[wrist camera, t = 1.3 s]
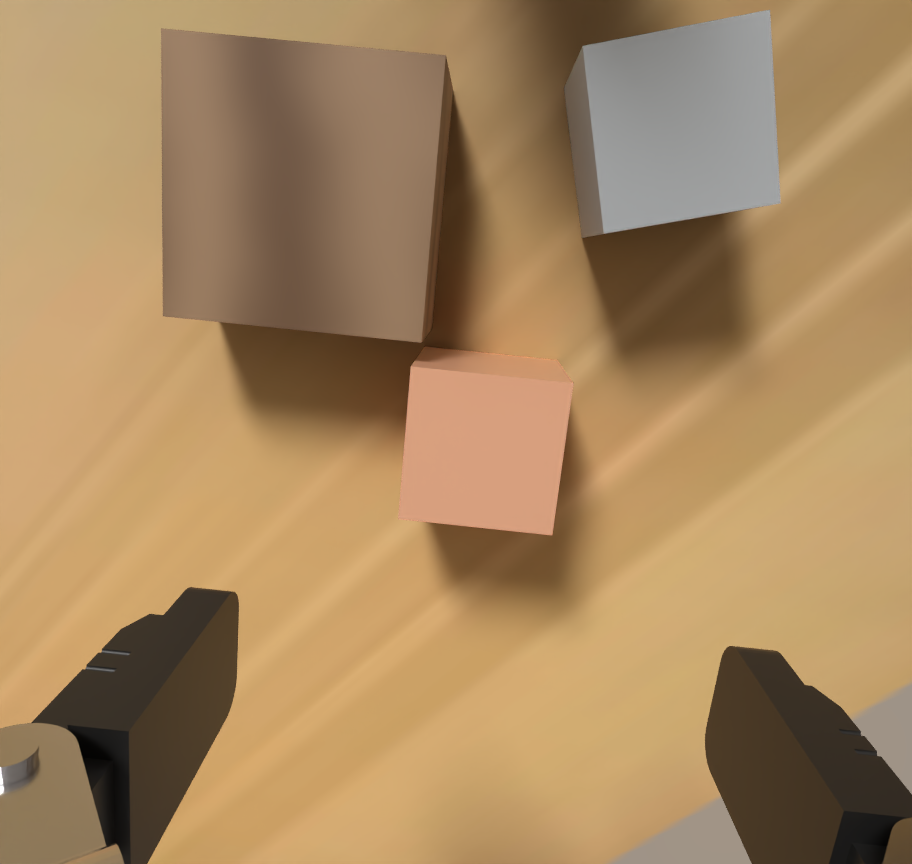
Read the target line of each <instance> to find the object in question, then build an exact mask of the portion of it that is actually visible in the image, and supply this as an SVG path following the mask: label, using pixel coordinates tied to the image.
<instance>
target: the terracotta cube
mask: <svg viewBox="0 0 912 864" xmlns="http://www.w3.org/2000/svg"><path fill="white" fill-rule="evenodd" d="M573 384H574V383H573V382H572V380H571V379H570V377H569V376H568V374H567V373H566V371H565V370H564V369H563V367H562V366H561V364H560V363H559V361H558V360H553V359H543V358H533V357H523V356H514V355H504V354H494V353H484V352H474V351H465V350H455V349H445V348H435V347H425V346H424V348H423V349H422V351H421V352H420V354H419V355H418V357H417V358H416V360H415V361H414V362H413V364H412V365H411V369H410V382H409V394H408V406H407V418H406V431H405V443H404V455H403V468H402V480H401V492H400V505H399V517H398V519H403V520H412V521H422V522H431V523H440V524H450V525H459V526H469V527H478V528H487V529H497V530H506V531H516V532H525V533H534V534H544V535H552V534H553V527H554V519H555V512H556V505H557V498H558V491H559V484H560V477H561V469H562V462H563V455H564V448H565V441H566V434H567V426H568V419H569V412H570V405H571V398H572V391H573Z"/></svg>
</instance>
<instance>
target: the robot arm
mask: <svg viewBox="0 0 912 864" xmlns="http://www.w3.org/2000/svg"><path fill="white" fill-rule="evenodd" d="M238 616H239V602H238V596H237V594H236V593H235V592H231V591H221V590H212V589H202V588H193V587H189V588H187V589H186V590H185V591H184V592H183V594H182V595H181V596H180V597H179V598H178V599H177V600H176V602H175V603H174V604H173V605H172V606H171V607H170V608H169V610H168V611H167V612H166V613H165V614H164V615H155V614H149V615H147V616H145V617H143V618H141V619H139V620H138V621H136V622H134V623H132V624H130V625H128V626H126V627H124V628H122V629H121V630H120V631H119V632H118V633H117V634H116V635H115V636H114V637H113V638H112V639H111V640H110V641H109V642H108V643H107V644H106V645H105V646H104V648H103V649H102V652H101V653H98V654H97V655H96V656H95V657H94V658H93V659H92V660H91V661H90V662H89V663H88V664H87V667H86V669H85V670H84V669H82V670H81V672H80V673H79V674H78V675H77V676H76V677H75V678H74V679H73V680H72V681H71V682H70V683H69V684H68V685H67V686H66V687H65V688H64V689H63V690H62V691H61V692H60V693H59V694H58V696H57V697H56V698H55V699H54V700H53V701H52V702H51V703H50V704H49V705H48V706H47V707H46V708H45V709H44V710H43V711H42V712H41V713H40V714H39V715H38V716H37V717H36V718H35V720H34V721H33V722H32V723H27V724H19V725H13V726H9V727H5V728H1V729H0V864H147V863H148V861H149V859H150V858H151V856H152V854H153V852H154V850H155V848H156V847H157V845H158V843H159V841H160V839H161V837H162V835H163V834H164V832H165V830H166V828H167V826H168V824H169V823H170V821H171V819H172V817H173V815H174V813H175V812H176V810H177V808H178V806H179V804H180V802H181V801H182V799H183V797H184V795H185V793H186V791H187V790H188V788H189V786H190V784H191V782H192V780H193V779H194V777H195V775H196V773H197V771H198V769H199V768H200V766H201V764H202V762H203V760H204V758H205V756H206V755H207V753H208V751H209V749H210V747H211V745H212V744H213V742H214V740H215V738H216V736H217V734H218V733H219V731H220V729H221V727H222V725H223V723H224V722H225V720H226V718H227V716H228V713H229V711H230V708H231V705H232V701H233V697H234V693H235V687H236V679H237V651H238ZM705 750H706V758H707V763H708V767H709V770H710V772H711V775H712V777H713V779H714V781H715V783H716V786H717V788H718V790H719V792H720V794H721V797H722V799H723V801H724V803H725V805H726V808H727V810H728V812H729V814H730V816H731V819H732V821H733V823H734V825H735V827H736V829H737V832H738V834H739V836H740V838H741V841H742V843H743V845H744V847H745V849H746V852H747V854H748V856H749V858H750V861H751V863H752V864H912V794H911V793H910V792H909V790H908V789H907V788H906V787H905V786H904V784H903V783H902V782H901V781H900V779H899V778H898V777H897V776H896V775H895V773H894V772H893V771H892V770H891V768H890V767H889V766H888V765H887V764H886V762H885V761H884V760H883V758H882V757H879V756H877V751H876V750H875V749H874V747H873V746H872V745H871V744H870V742H869V741H868V740H867V739H866V738H865V736H861V731H860V730H859V729H858V727H857V726H856V725H855V724H854V723H853V721H852V720H851V719H850V718H849V716H848V715H847V714H846V713H845V711H844V710H843V709H842V708H841V707H840V706H839V705H837V704H836V703H834V702H833V701H832V700H830V699H829V698H828V697H826V696H825V695H824V694H822V693H821V692H819V691H818V690H817V689H815V688H814V687H813V686H808V685H804V683H803V682H802V681H801V680H800V678H799V677H798V676H797V674H796V673H795V672H794V670H793V669H792V668H791V666H790V665H789V664H788V663H787V661H786V660H785V659H784V657H783V656H782V655H781V654H780V653H779V652H777V651H773V650H764V649H754V648H745V647H735V646H729V647H728V648H726V650H725V651H724V653H723V655H722V658H721V662H720V667H719V671H718V676H717V681H716V685H715V690H714V694H713V699H712V704H711V708H710V713H709V717H708V722H707V727H706V734H705Z"/></svg>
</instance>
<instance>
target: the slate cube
mask: <svg viewBox="0 0 912 864" xmlns="http://www.w3.org/2000/svg"><path fill="white" fill-rule="evenodd" d="M564 93H565V102H566V110H567V118H568V127H569V135H570V143H571V152H572V160H573V169H574V177H575V185H576V194H577V202H578V210H579V219H580V227H581V235H582V238H584V237H590V236H596V235H602V234H607V233H613V232H619V231H625V230H631V229H637V228H642V227H648V226H654V225H660V224H666V223H672V222H677V221H683V220H689V219H695V218H701V217H707V216H713V215H718V214H724V213H730V212H735V211H741V210H746V209H752V208H757V207H763V206H768V205H774V204H779V203H780V185H779V167H778V148H777V130H776V112H775V94H774V75H773V57H772V39H771V21H770V10H766V11H761V12H756V13H750V14H745V15H740V16H735V17H730V18H725V19H719V20H714V21H709V22H704V23H699V24H694V25H688V26H683V27H678V28H673V29H668V30H663V31H657V32H652V33H647V34H642V35H637V36H632V37H626V38H621V39H616V40H611V41H606V42H601V43H595V44H590V45H585V46H582V49H581V51H580V53H579V55H578V58H577V60H576V62H575V64H574V66H573V69H572V71H571V73H570V75H569V78H568V80H567V82H566V84H565V86H564Z"/></svg>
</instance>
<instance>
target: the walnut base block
mask: <svg viewBox="0 0 912 864" xmlns="http://www.w3.org/2000/svg"><path fill="white" fill-rule="evenodd" d="M161 72H162V236H163V316H166V317H176V318H185V319H195V320H205V321H215V322H224V323H234V324H244V325H254V326H263V327H273V328H283V329H293V330H303V331H312V332H322V333H332V334H342V335H351V336H361V337H371V338H381V339H390V340H400V341H410V342H420V343H422V341H423V340H424V339H425V337H426V336H427V335H428V334H429V332H430V331H431V330H432V325H433V314H434V302H435V291H436V280H437V268H438V257H439V246H440V234H441V223H442V211H443V200H444V189H445V177H446V166H447V155H448V143H449V132H450V120H451V109H452V98H453V87H452V82H451V78H450V73H449V68H448V63H447V59H446V55H436V54H426V53H415V52H405V51H394V50H384V49H373V48H362V47H352V46H341V45H331V44H320V43H309V42H299V41H288V40H278V39H267V38H257V37H246V36H235V35H225V34H214V33H204V32H193V31H182V30H172V29H161Z"/></svg>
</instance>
